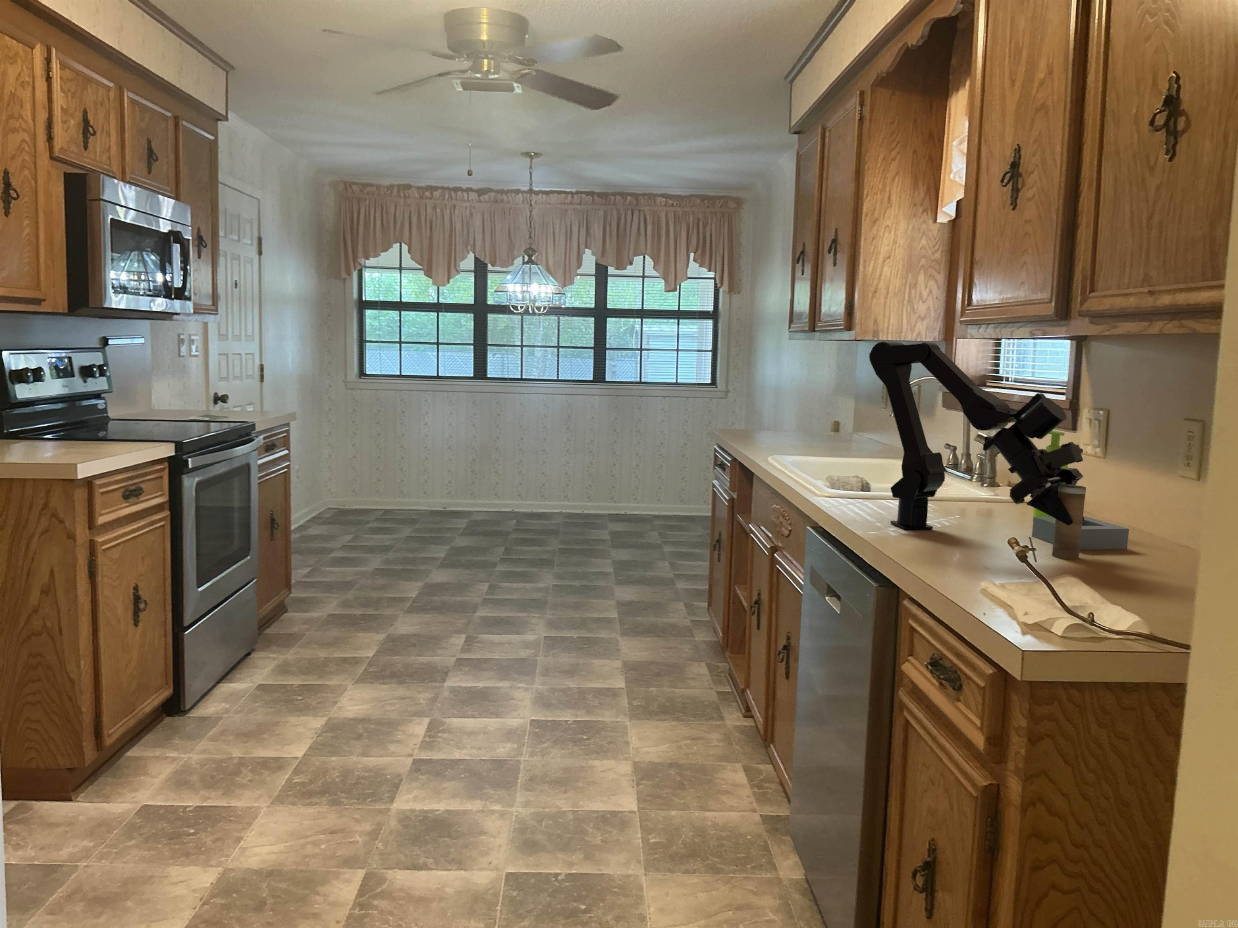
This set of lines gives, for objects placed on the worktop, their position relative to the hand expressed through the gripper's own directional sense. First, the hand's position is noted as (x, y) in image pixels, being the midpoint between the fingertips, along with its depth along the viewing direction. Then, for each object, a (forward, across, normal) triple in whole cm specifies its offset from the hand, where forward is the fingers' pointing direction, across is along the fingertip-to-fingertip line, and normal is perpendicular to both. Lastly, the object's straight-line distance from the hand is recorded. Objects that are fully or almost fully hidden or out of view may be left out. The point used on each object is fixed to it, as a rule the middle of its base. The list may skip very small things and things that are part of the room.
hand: (1076, 522), depth 167 cm
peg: (+4, 0, +6) cm, 7 cm away
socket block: (+1, +15, +8) cm, 17 cm away
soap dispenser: (-8, +31, +18) cm, 37 cm away
